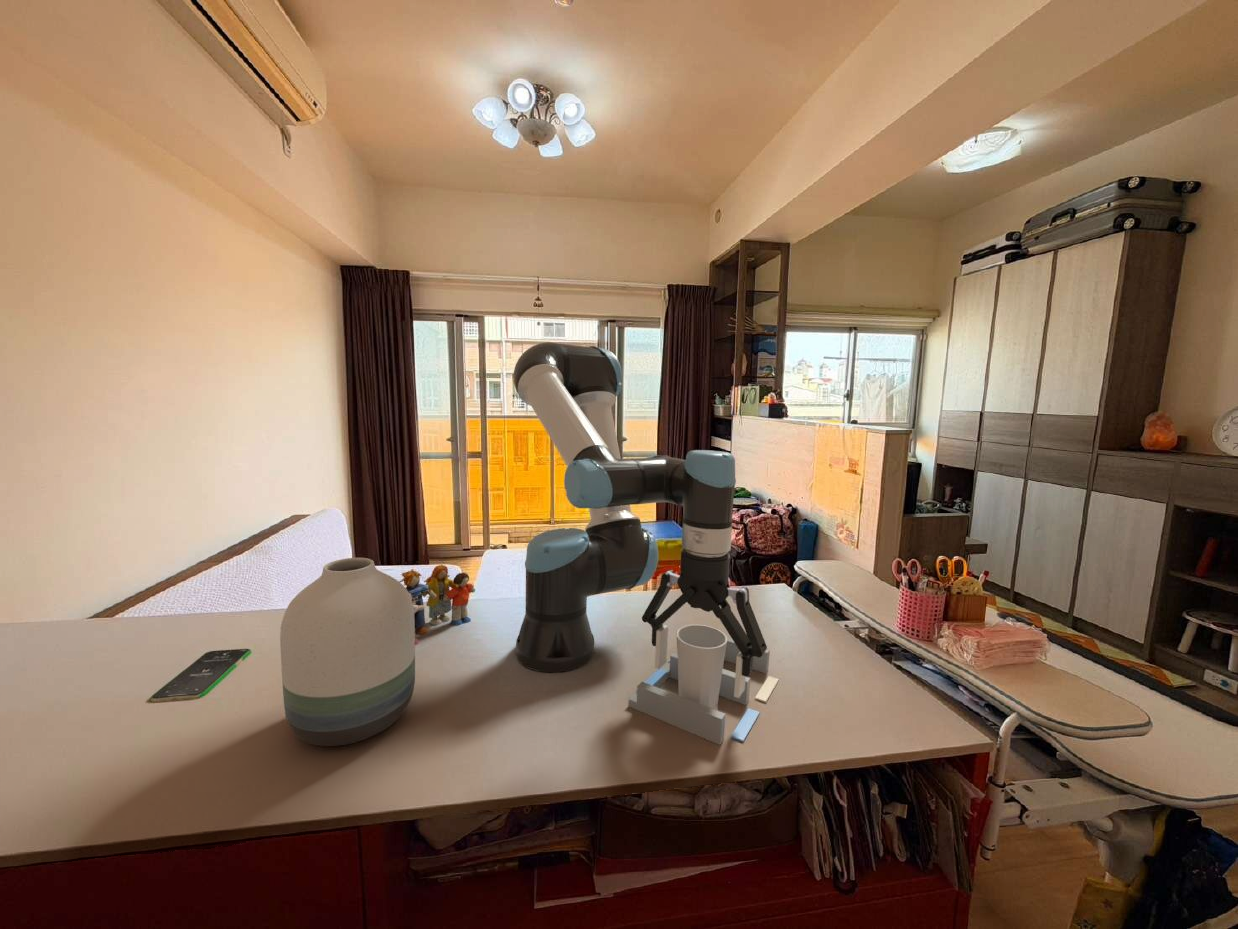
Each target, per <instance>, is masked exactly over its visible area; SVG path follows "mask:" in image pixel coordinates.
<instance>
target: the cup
mask: <svg viewBox="0 0 1238 929" xmlns="http://www.w3.org/2000/svg"><path fill="white" fill-rule="evenodd" d="M727 637H728V636H727V635H726V633H724V632H723V631H722V630H721V629H718V628H715V627H713V626H709V625H705V624H688V625H684V626H682V627H680V628H678V629H677V630H676V650H677V651H676V653H677V654H678V680H677V682H678V687H677V688H678V696H681V697H683V698H686V699H688V700H691V701H694V702H696V703H699V704H701V705H704V706H707V707H709V708H712V709H714V710H717V711H718V705H719V704H718V702H719V696H720V695H719V691H720V684H721V677H722V671H723V669H724V664H725V663H724V662H725V660H724V657H725V651H726V645H727Z"/></svg>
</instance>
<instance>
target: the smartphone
mask: <svg viewBox="0 0 1238 929" xmlns="http://www.w3.org/2000/svg"><path fill="white" fill-rule="evenodd" d="M251 653H252V650H251V649H250V648H237V649H236V648H235V649H221V650H218V649H217V650H209V651H208V652H205V653H204V654H202V655H201V656H200V657H199V658H198V659H196V660H194V662H192V664H190V665H189V666H187V667H186V668H185V669H183V670H182V671H181V672H180V673H179V674H177V675H176V676H175V677H173V678H172V679H170V680H169V681H168V682H166V684H164V685H163V686H162V687H161V688H159V689H158V690H157V691H156V692H154V693H153V694H152V695H151V696H150V698H149V699H148V700H149V702H151V703H152V702H154V703H156V702H159V703H160V702H169V701H170V702H171V701H183V700H184V701H185V700H194V699H200V698H203V697H205V696H206V695H208V694H209V693H210V692H211V691H212V690H213V689H214V688H215V687H216V686H217V685H218V684H219V683H221V682H222V681H223V680H224V679H225V678H226V677H227V676H228V675H230V673H231V672H233V670H235V669H237V666H238V665H239V664H240V663H242V662H243V661H245V659H247V658H248V657H249V656H250V654H251Z"/></svg>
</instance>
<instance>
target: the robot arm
mask: <svg viewBox="0 0 1238 929" xmlns="http://www.w3.org/2000/svg"><path fill="white" fill-rule="evenodd" d="M512 375H513V376H512V377H513V385H514V388H515V390H516V392H517V395H518V396H519V398H520V400H521V401H522V402H523V403H524V404H526V405H528V406H529V407H531V408H532V410H533V411H534V413H535V414H536V417H537V418H538V420H539V422H540V423H541V425H542V426H543V428H544V430H545V431H546V434H548V436H549V439H550V440H551V441H552V443H553V445H554V447H555V448H556V450H557V451H558V453H559V455H560V457H561V458H562V460H563V462H564V463H565V465H566V469H565V473H564V477H563V478H564V480H563V481H564V484H563V485H564V489H565V491H566V498H567V501H568V503H570V504H571V505H572V506H573V507H575V508H577V509H588V510H589V516H590V517H589V518H590V520H589V522H588V524H587V525H586V527H585V528H584V530H583V529H580V528H575V527H569V528H564V527H563V528H555V529H551V530H547V531H544V532H541V533H539V534H537V535H535V536H534V537H533V538H532V539H530V540H529V542H528V543H527V545H526V556H525V562H524V567H525V568H524V569H525V614H524V617H523V620H522V623H521V626H520V629H519V632H518V635H517V637H516V641H515V658H516V660H517V661H518V662H519V664H521V665H523V666H524V667H526V668H528V669H531V670H534V671H538V672H543V673H544V672H545V673H562V672H567V671H571V670H575V669H578V668H580V667H582V666H585V665H586V664H587V663H589V662H590V661H591V659H593V657H594V654H595V644H596V643H595V637H594V635H593V632H592V629H591V625H590V621H589V618H588V614H587V605H588V604H587V603H588V602H587V600H588V597H591V596H595V595H601V594H606V593H607V594H608V593H612V592H618V591H622V590H633V589H634V588H636V587H641V586H644V585H646V584H647V583H649V581H651V580H652V578H653V577H654V574H655V571H657V567H658V562H659V548H658V542H657V541H656V540H657V539H656V538H655V536H654V535H653V533H652V532H651V530H649V529H646V528H644V527H642V523H641V518H640V517H638V516H637V515H635V514H634V513H633V512H632V510H631V505H644V504H647V505H648V504H655V503H656V504H657V503H671V504H674V505H677V506H679V507H682V508H683V515H682V532H681V534H682V535H681V547H682V548H683V549H682V550H681V552H680V563H679V564H680V566H679V567H680V568H679V570H680V575H679V574H677V573H675V571H674V570H673V569H669V570H667V571H665V572H664V573H662V574H661V577H660V583H659V587H658V589H657V590H656V591H655V593H654V595H653V597H652V599H651V600H650V602H649V604H648V606H647V608H646V609H645V611H644V613H643V615H642V616H641V620H642V622H644V623H647V624H649V626H651V644H652V646H653V647H655V654H654V655H655V657H654V658H655V660H654V668H655V669H656V670H659V669H661V668H662V667H663V666H664V665H666V664H667V661H668V658H667V654H668V637H669V626H668V625H666V624H665V623H666V621H668V620H669V619H671V617H673V615H674V614H675V613H676V612H677V611H679V610H680V609H681V608H682V607H683V606H684V605H686V604H688V605H689V606H690V608H693V609H700V610H703V612H708V613H710V612H712V613H713V614H714V615H715V617H716V618H717V619H719V620H720V623H722V625H723V627H724V629H725V630H726V631H727V633H728V634H729V637H730V638H732V639H733V641H734V643H735V644H736V646H737V647H738V649H739V650H740V653H739V654H738V655H737V659H736V664H735V673H736V674H735V688H734V697H737V698H739V697H740V696H741V694H742V693H743V691H744V690H745V677H749V676H750V675H751V673H752V672H753V656H756V657H761V656H762V655H763V654H764V652H765V651H766V649H768V646H767V643H766V641H765V638H764V636H763V633H762V631H761V628H760V625H759V623H758V620H757V618H756V615H755V613H754V609H753V608H752V606H751V602H750V590H749V588H748V587H747V586H742V587H741V588H735V587H731V586H730V584H729V583H730V582H729V575H730V564H731V563H730V562H731V560H730V559H731V555H730V553H729V551H731V549H732V548H731V547H732V545H731V544H732V528H733V527H732V526H733V511H734V510H733V509H734V499H735V498H734V497H735V488H736V487H735V486H736V482H737V478H736V460H735V459H736V458H735V457H734V455H733V454H732V453H730V452H727V451H720V450H707V449H701V450H700V449H695V450H694V449H693V450H690V451H689V452H687V453H686V455H685V459H681V458H677V457H671V456H670V455H664V454H663V455H659V454H658V455H657V454H653V455H652V454H651V455H648V456H647V457H642V458H639V457H638V458H635V457H634V458H621V453H620V447H619V442H618V438H617V437H618V436H617V434H616V433H617V432H616V427H615V423H614V422H615V421H614V416H613V411H612V407H613V406H614V404H615V403H616V402H617V396H618V395H619V393H620V392H621V390H622V385H623V384H622V382H621V381H623V372H622V367H621V363H620V361H619V359H618V357H617V356H616V355H615V354H614V353H613V352H612V351H610V350H609V349H606V348H602V347H599V346H598V347H597V346H596V345H595V346H594V345H590V346H585V345H577V344H569V343H567V344H566V343H557V342H552V341H551V342H550V341H549V342H547V341H546V342H541V343H538V344H535V345H532V346H531V347H529V348H528V349H526V350H525V351H524V352H523V353H522V354H521V355H520V356H519V358H517V361H516V362H515V366H514V369H513V374H512ZM676 584H677V587H678V588H679V590H680V592H681V593H682V594H681V595H680V596H678V598H676V600H674V602H672V603H671V604H670V606H668V607H667V608H666V609H665V610H664V611H663V612H661V613H660V614H659V615H657V613H658V611H659V610H660V608H661V606H662V605H663V604H664V601H665V599H666V598H667V596H668V594H669V593H670V591H671V589H672V587H674V586H676ZM728 597H730V598H731V599H732V602H733V604H735V605H736V610H737V613H738V615H739V616H738V617H740V620H741V623H742V625H741V624H740V622H739V620H738V618H736V615H735V614H734V613H733V611H732V610H731V609H732V608H731V607H732V606H731V605H730V604H729V602H728V600H727V599H728ZM749 678H750V677H749Z"/></svg>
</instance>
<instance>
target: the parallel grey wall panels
mask: <svg viewBox="0 0 1238 929" xmlns="http://www.w3.org/2000/svg"><path fill="white" fill-rule="evenodd" d="M726 637H727V645H726V651H725V657H724V661H726V662H729V663H732V664H735V665H736V659H737V655H738V654H739V653H740V650H739V649H738V647H737V646H736V644H735V643H734V641H733V639H732V638H731V637H730V636H726ZM770 652H771V651H770V649H769V648H767V649H766V651H765V652H764V654H763V655H762V656H761V657H756V656H753V669H752V671H753V670H754V671H756V672H759V673H763V674H767V673H768V671H769V667H770V666H769V664H770ZM656 670H657V671H655V672H654V673H653V674H652V675H651V676H650V677H649V678H648V679H646V681H641V682H639V684H638V685H637V687H636V691H635V692H634V694H632V695H631V696H630V697H629V698H628V702H627V703H628V704H627V706H628V707H629V708H631V709H634V710H636V711H638V712H641V713H643V714H645V715H648V716H650V717H652V718H655V719H658V720H660V721H663V722H664V723H667V724H669V725H672V726H675V727H676V728H679V729H682V730H684V731H685V732H688V733H690V734H693V735H695V736H698V737H701V738H702V739H704V738H705V739H704V740H707V741H710V742H712V743H714V744H717V745H719V746H721V745H722V743H723V741H724V740H725V727H726V726H725V725H726V713H724V712H722V711H719V710H718V709H717V710H714V709H712V708H709V707H707V706H704V705H701V704H699V703H696V702H694V701H691V700H688V699H686V698H683V697H681V696H678V695H679V694H678V695H677V694H675V693H674V692H673V693H672V692H670V691H667V690H665V689H662V688H660V687H661V685H663V683H665V682H666V680H667V679H669V678H672V679H674V680H676V681H678V654H677V652H673V653H671V654H670V655H669V659H667V662H666V663H665V664H664V665H663V666H662V667H661V668H660V669H656ZM735 674H736V672H734V671H730V670H728V669H725V668H723V671H722V677H721V684H720V691H719V696H720V697H724V698H726V699H728V700H730V701H731V700H732V701H734V702H737V703H740V704H742V705H745V706H746V705H747V704H748V702H749V701H750V698H749V697H750V688H751V685H750V684H751V677H745V690H744V691H743V693H742V694H741V696H740V697H739V698H737V697H734V688H735ZM779 680H780V679H779V678H776V677H773V676H770V675H768V676H767V678H766V679H765V681H764V683H763V684H762V686H761V687H760V689H759V691H758V692H757V693H756V695H755V697H754V700H756V701H758V702H759V701H760V702H762V703H767V702H768V700H769V699H770V697H771V695H772V693H773V691H774V690H775V687H777V685H778V683H779ZM760 714H761V713H760V711H758V710H754V709H752V708H749V707H748V708H747V710H746V711H745V713H744V715H743V716H742V718H741V720H740V721H739V723H738V724H737V726H736V728H735V729H734V730H733V732H732V734H731V737H730V738H732V739H734V740H736V741H739V742H741V743H744V742H745V740H746V739H747V737H748V735H749V734H750V731H751V730H752V728H753V726H754V725H755V722H756V721H757V719H758V717H759V716H760Z"/></svg>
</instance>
